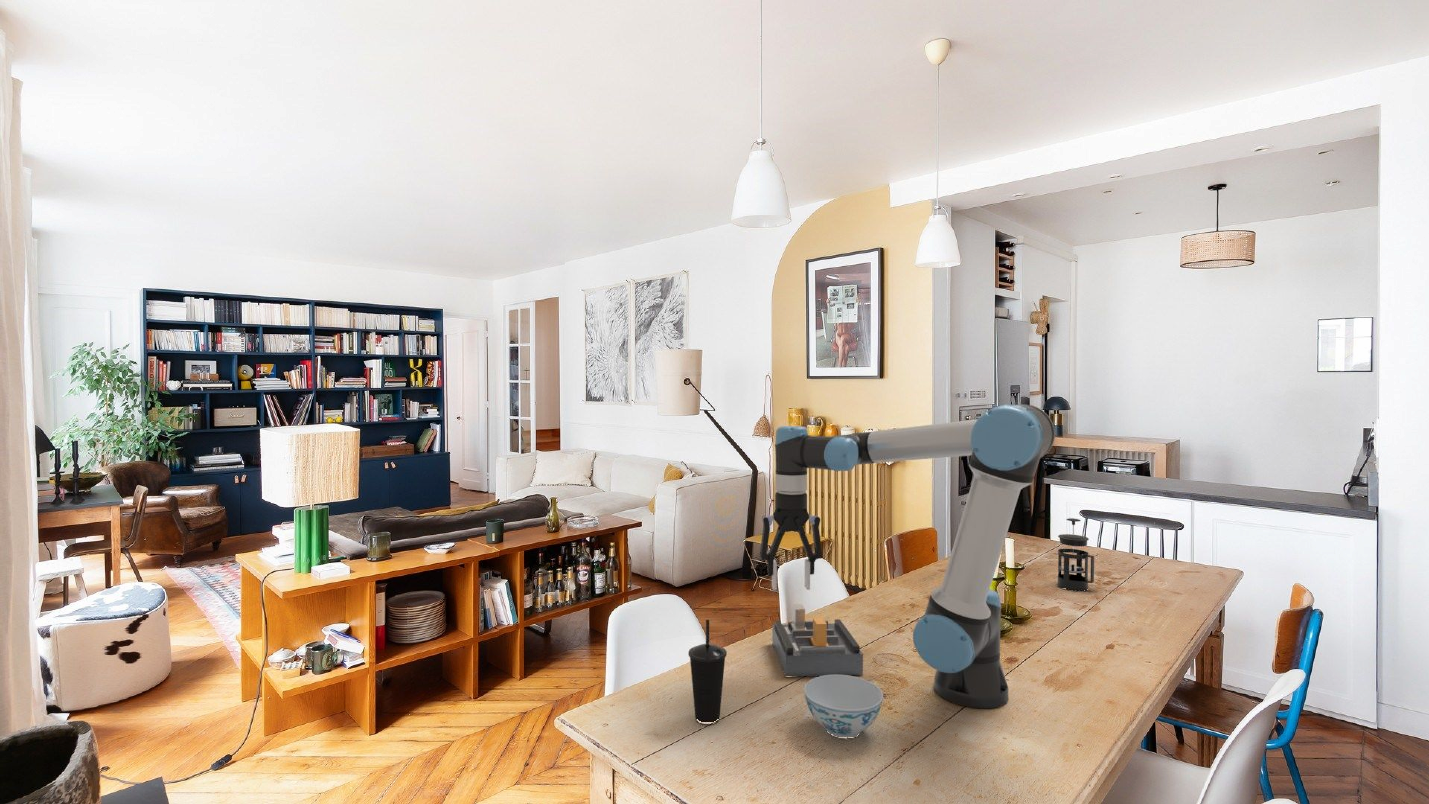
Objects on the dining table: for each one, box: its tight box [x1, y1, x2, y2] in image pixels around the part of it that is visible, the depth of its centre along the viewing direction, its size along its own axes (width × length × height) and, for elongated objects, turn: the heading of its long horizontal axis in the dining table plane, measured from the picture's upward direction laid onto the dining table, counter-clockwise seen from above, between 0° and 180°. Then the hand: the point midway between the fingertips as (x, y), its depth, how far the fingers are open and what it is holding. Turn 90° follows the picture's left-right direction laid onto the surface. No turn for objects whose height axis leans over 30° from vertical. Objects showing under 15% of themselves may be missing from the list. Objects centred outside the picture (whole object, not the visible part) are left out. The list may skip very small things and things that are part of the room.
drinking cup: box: [688, 619, 727, 722], centre depth 133 cm, size 8×8×20 cm
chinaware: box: [803, 675, 884, 738], centre depth 129 cm, size 15×15×8 cm
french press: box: [1056, 517, 1095, 592], centre depth 221 cm, size 12×9×23 cm
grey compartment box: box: [771, 603, 864, 676], centre depth 163 cm, size 20×18×11 cm
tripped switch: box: [811, 617, 829, 646], centre depth 158 cm, size 5×3×6 cm
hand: (790, 588), depth 157 cm, fingers open, 7 cm apart
